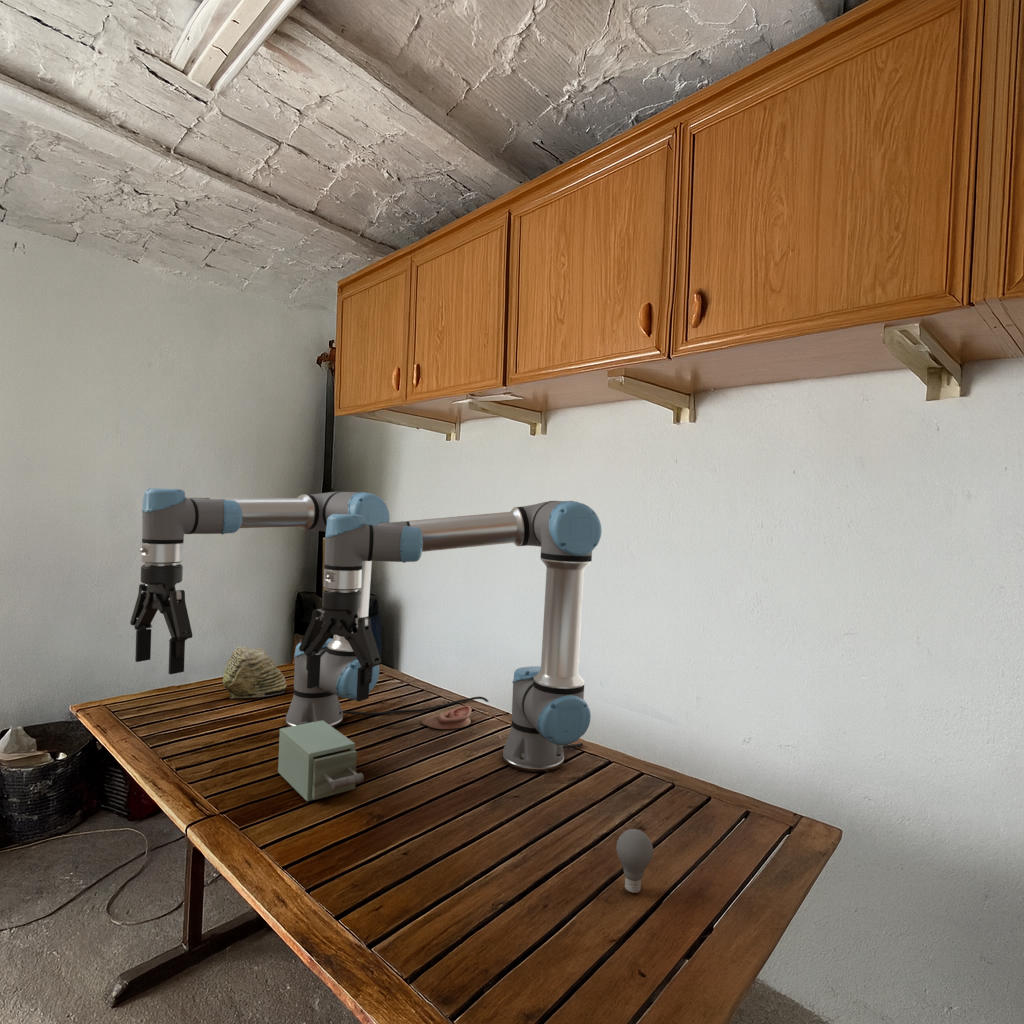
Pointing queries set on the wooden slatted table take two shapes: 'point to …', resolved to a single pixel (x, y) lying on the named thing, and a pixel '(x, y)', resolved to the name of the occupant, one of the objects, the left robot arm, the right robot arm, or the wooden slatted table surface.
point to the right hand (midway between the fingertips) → (337, 693)
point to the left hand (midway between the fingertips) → (159, 666)
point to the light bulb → (634, 857)
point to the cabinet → (307, 752)
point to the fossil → (252, 674)
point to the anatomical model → (450, 719)
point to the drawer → (334, 773)
